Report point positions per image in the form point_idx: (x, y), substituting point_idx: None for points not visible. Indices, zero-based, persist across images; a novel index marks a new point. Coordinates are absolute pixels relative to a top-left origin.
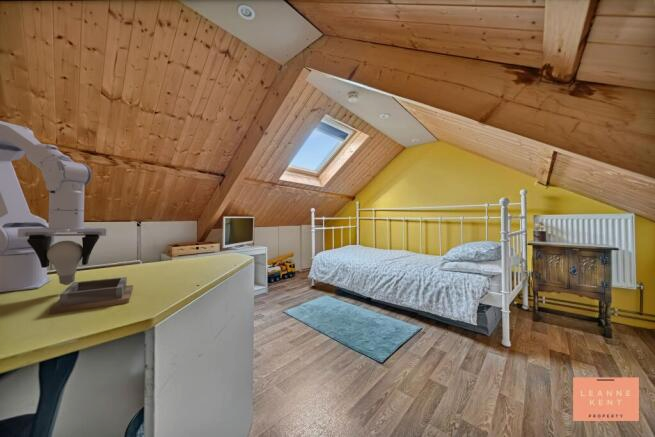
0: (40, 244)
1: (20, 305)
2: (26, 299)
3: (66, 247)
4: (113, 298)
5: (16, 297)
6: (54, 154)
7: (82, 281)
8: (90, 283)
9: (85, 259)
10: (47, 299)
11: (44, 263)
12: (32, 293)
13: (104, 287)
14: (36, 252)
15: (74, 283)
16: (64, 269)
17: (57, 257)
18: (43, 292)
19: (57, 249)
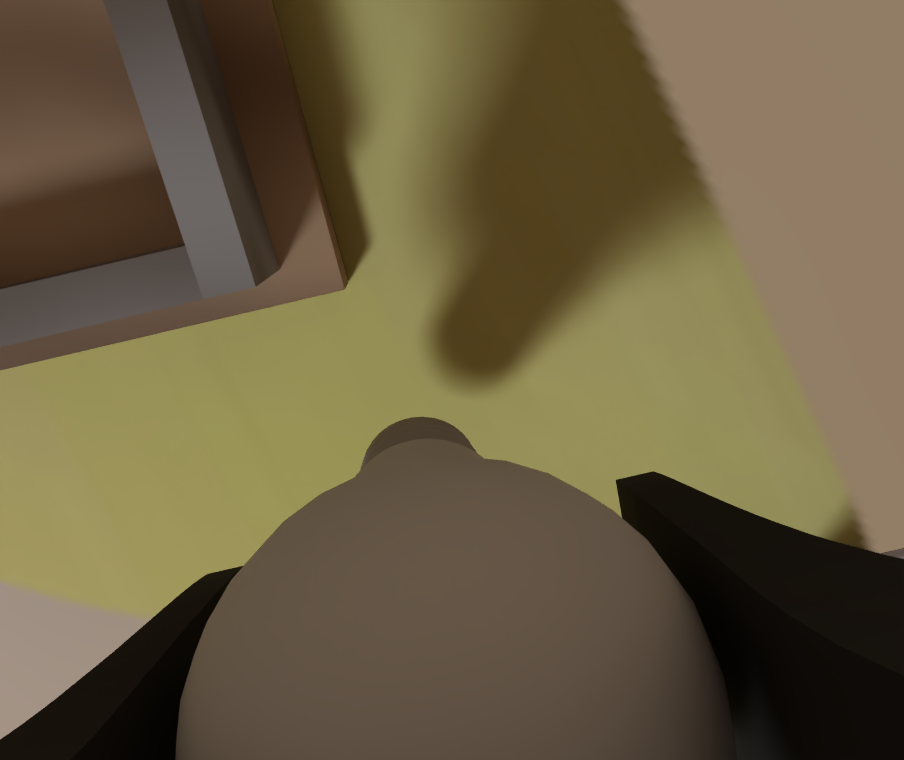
0: (887, 629)
1: (588, 128)
2: (632, 301)
3: (338, 656)
4: None
5: (733, 384)
6: None
7: (174, 298)
8: (88, 267)
9: (167, 611)
10: (468, 251)
11: (647, 493)
12: (674, 471)
13: (2, 286)
14: (837, 545)
15: (211, 219)
16: (406, 460)
17: (459, 464)
18: (607, 479)
19: (488, 570)
